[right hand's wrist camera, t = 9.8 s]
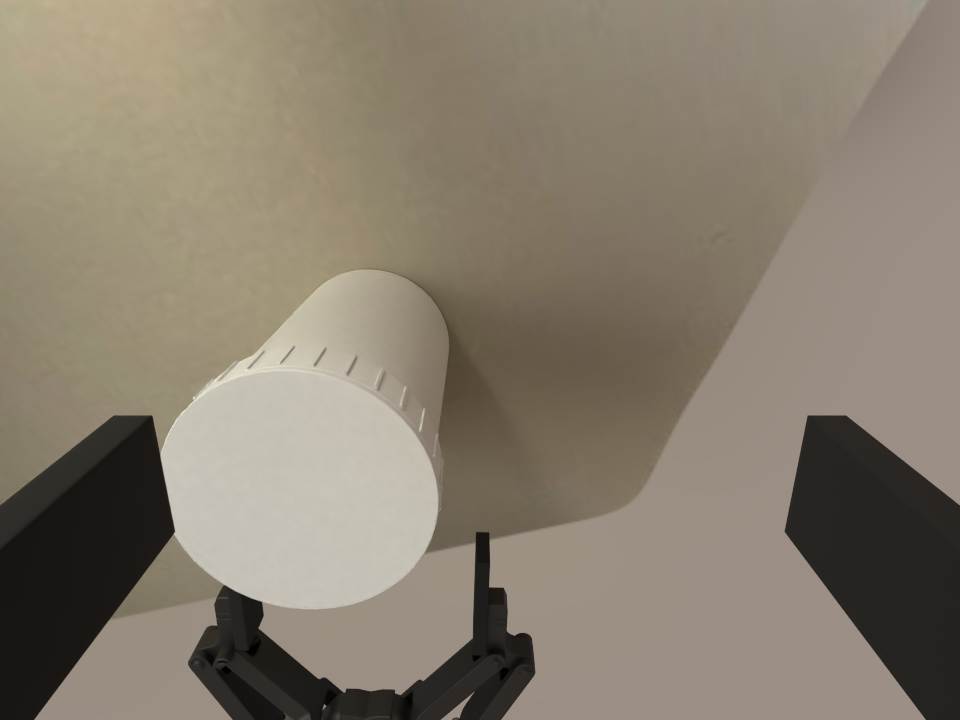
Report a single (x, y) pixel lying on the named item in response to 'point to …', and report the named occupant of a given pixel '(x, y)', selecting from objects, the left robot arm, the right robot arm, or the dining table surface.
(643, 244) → the dining table surface
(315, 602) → the lid
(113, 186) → the dining table surface
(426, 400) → the jar
